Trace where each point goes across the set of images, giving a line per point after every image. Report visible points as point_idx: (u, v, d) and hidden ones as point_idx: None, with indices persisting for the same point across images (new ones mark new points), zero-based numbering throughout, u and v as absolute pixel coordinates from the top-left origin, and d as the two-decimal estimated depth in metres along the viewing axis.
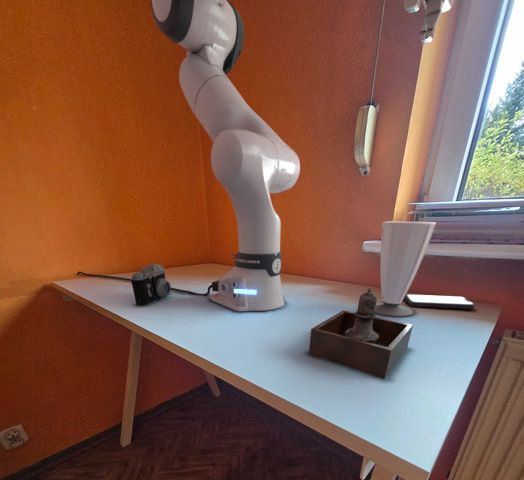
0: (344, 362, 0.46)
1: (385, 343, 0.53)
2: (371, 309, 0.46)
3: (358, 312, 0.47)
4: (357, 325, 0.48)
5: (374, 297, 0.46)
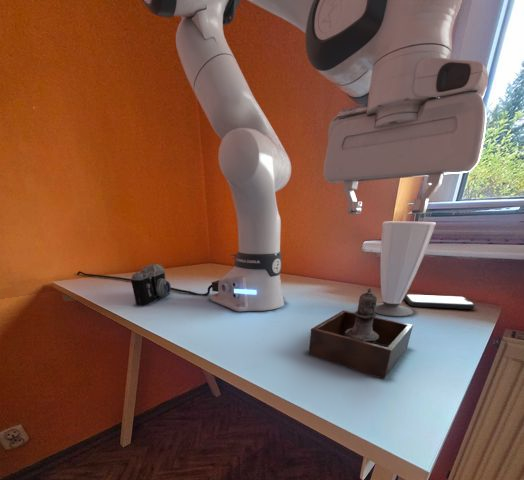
0: (344, 362, 0.46)
1: (385, 343, 0.53)
2: (371, 309, 0.46)
3: (358, 312, 0.47)
4: (357, 325, 0.48)
5: (374, 297, 0.46)
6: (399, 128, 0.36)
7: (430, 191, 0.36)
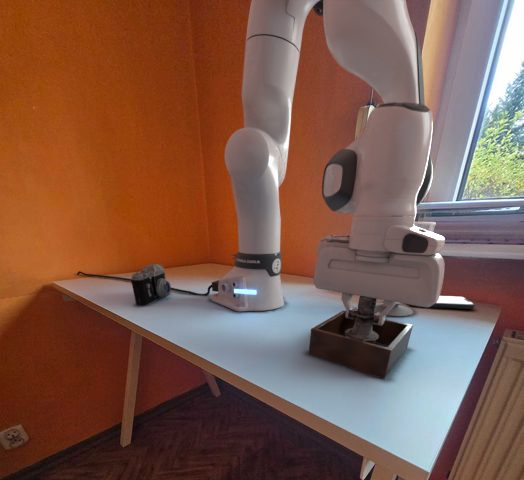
0: (344, 362, 0.46)
1: (385, 343, 0.53)
2: (371, 309, 0.46)
3: (358, 312, 0.47)
4: (357, 325, 0.48)
5: None
6: (375, 264, 0.43)
7: (385, 312, 0.45)
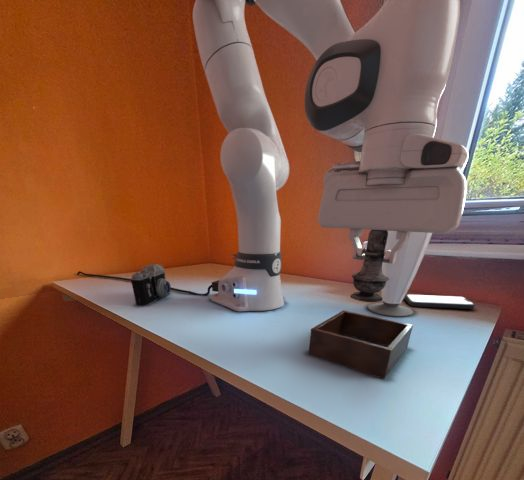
0: (344, 362, 0.46)
1: (385, 343, 0.53)
2: (382, 245, 0.42)
3: (367, 250, 0.43)
4: (366, 265, 0.44)
5: (385, 231, 0.41)
6: (388, 189, 0.38)
7: (398, 246, 0.40)
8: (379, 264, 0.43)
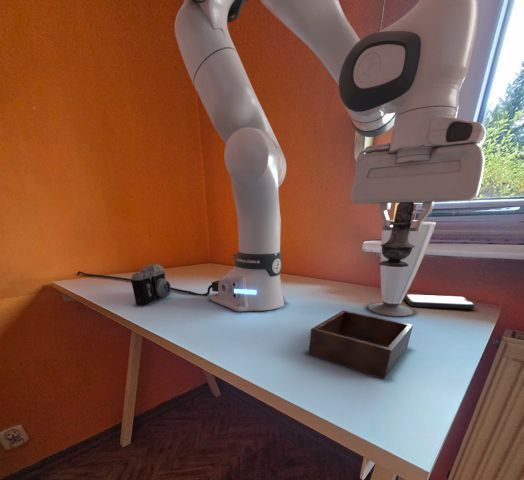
0: (344, 362, 0.46)
1: (385, 343, 0.53)
2: (409, 215, 0.48)
3: (395, 221, 0.50)
4: (394, 234, 0.50)
5: (412, 203, 0.48)
6: (415, 165, 0.45)
7: (424, 215, 0.47)
8: (406, 233, 0.50)
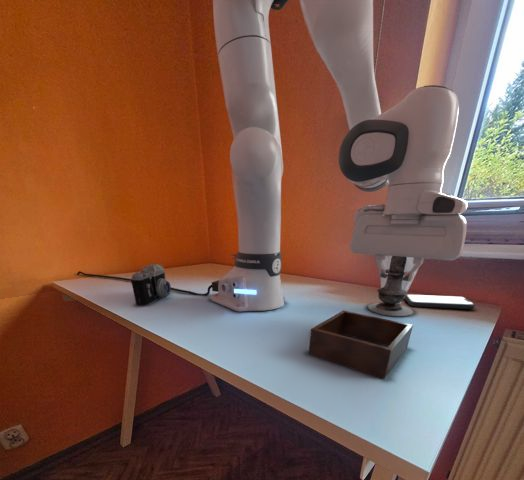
0: (344, 362, 0.46)
1: (385, 343, 0.53)
2: (402, 267, 0.54)
3: (390, 271, 0.56)
4: (389, 282, 0.56)
5: None
6: (407, 227, 0.51)
7: (415, 268, 0.53)
8: (400, 281, 0.56)
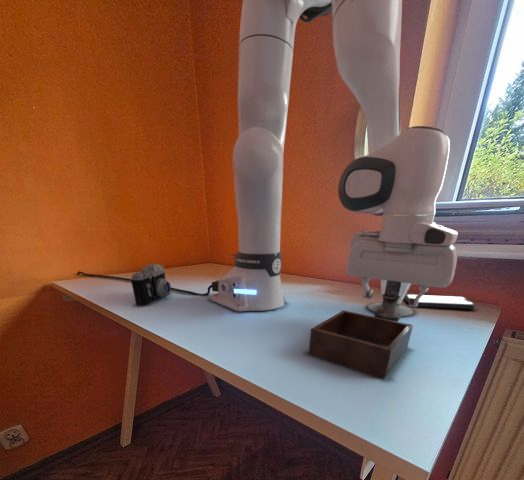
0: (344, 362, 0.46)
1: (385, 343, 0.53)
2: (396, 291, 0.57)
3: (385, 294, 0.58)
4: (384, 305, 0.59)
5: (399, 282, 0.56)
6: (400, 254, 0.53)
7: (420, 295, 0.54)
8: (394, 305, 0.58)
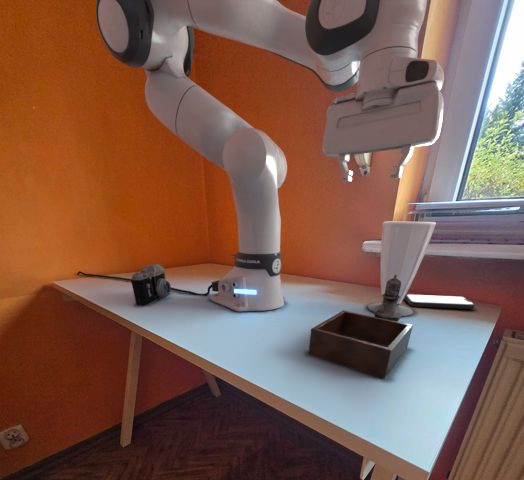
0: (344, 362, 0.46)
1: (385, 343, 0.53)
2: (397, 291, 0.57)
3: (385, 294, 0.58)
4: (384, 305, 0.59)
5: (399, 282, 0.56)
6: (380, 111, 0.47)
7: (403, 159, 0.47)
8: (394, 305, 0.58)
